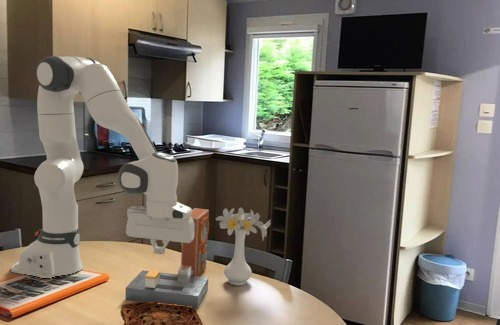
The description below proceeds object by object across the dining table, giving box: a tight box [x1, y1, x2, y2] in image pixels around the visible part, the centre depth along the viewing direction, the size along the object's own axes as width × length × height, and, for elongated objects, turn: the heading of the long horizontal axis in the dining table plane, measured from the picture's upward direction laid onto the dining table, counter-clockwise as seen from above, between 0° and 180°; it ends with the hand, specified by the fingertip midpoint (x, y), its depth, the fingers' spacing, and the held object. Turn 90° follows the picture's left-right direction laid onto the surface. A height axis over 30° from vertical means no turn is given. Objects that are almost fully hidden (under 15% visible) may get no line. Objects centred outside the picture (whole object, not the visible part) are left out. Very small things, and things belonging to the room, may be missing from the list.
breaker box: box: [125, 265, 209, 310], centre depth 144 cm, size 22×14×8 cm, turn 83°
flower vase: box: [215, 207, 272, 286], centre depth 156 cm, size 13×18×25 cm
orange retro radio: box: [180, 207, 210, 277], centre depth 163 cm, size 21×7×15 cm
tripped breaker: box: [145, 270, 161, 288], centre depth 141 cm, size 3×4×4 cm
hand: (159, 253), depth 140 cm, fingers closed
